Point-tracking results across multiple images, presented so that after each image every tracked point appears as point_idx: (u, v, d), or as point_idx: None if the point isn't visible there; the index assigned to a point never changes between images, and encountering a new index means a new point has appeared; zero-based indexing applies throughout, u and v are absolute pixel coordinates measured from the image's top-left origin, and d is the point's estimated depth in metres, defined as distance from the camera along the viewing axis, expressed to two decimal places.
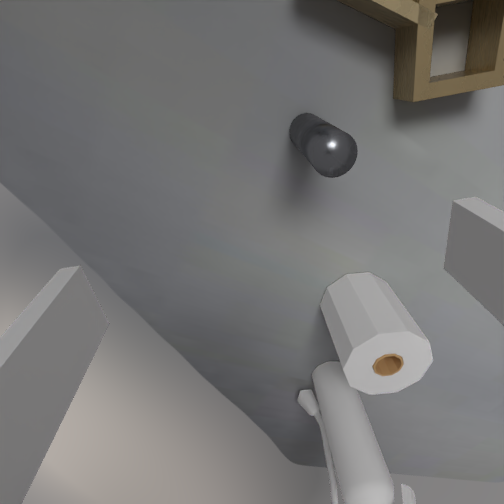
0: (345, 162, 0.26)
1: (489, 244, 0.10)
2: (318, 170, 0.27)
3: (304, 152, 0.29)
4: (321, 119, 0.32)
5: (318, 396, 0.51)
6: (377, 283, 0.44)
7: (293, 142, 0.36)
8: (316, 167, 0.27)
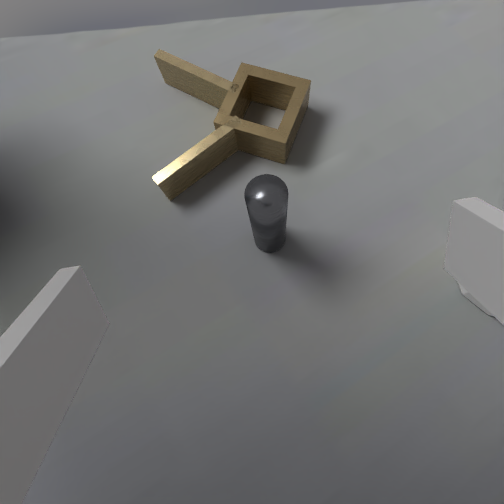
0: (278, 188, 0.27)
1: (489, 244, 0.10)
2: (271, 212, 0.27)
3: (262, 227, 0.30)
4: None
5: None
6: None
7: (271, 250, 0.38)
8: (268, 212, 0.27)
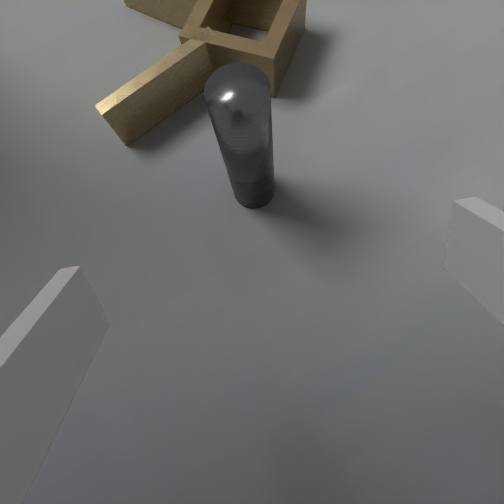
0: (255, 80, 0.18)
1: (489, 244, 0.10)
2: (244, 115, 0.17)
3: (235, 153, 0.21)
4: None
5: None
6: None
7: (255, 204, 0.28)
8: (238, 115, 0.17)
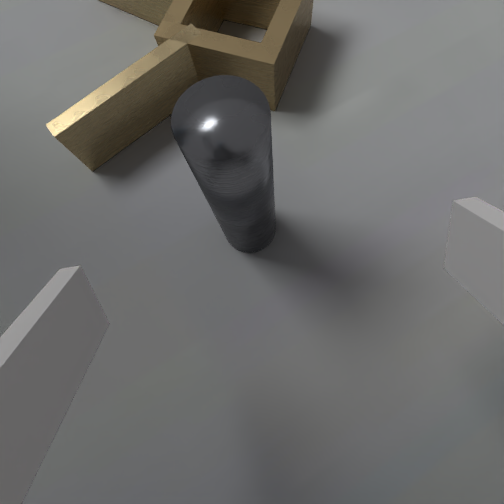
0: (249, 102, 0.12)
1: (489, 244, 0.10)
2: (231, 156, 0.11)
3: (222, 200, 0.15)
4: None
5: None
6: None
7: (252, 248, 0.22)
8: (222, 157, 0.11)
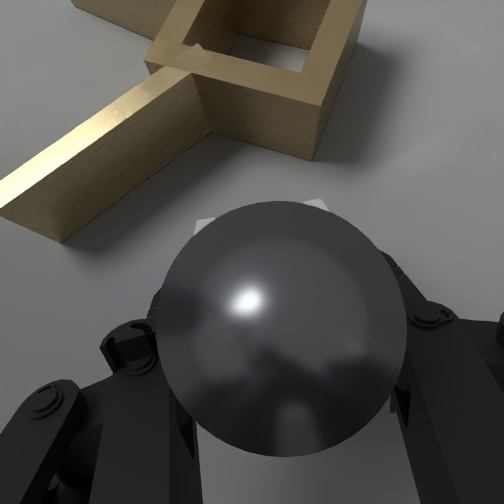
0: (347, 280, 0.05)
1: None
2: (313, 442, 0.04)
3: None
4: None
5: None
6: None
7: None
8: (289, 444, 0.04)
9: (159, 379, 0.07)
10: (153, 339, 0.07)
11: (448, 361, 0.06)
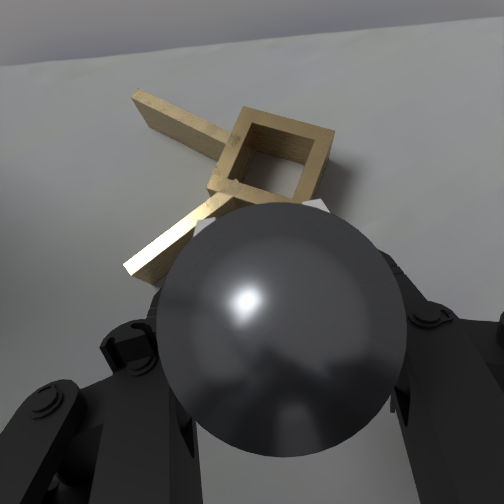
0: (347, 281, 0.05)
1: None
2: (313, 442, 0.04)
3: None
4: None
5: None
6: None
7: None
8: (289, 445, 0.04)
9: (159, 379, 0.07)
10: (153, 339, 0.07)
11: (448, 361, 0.06)
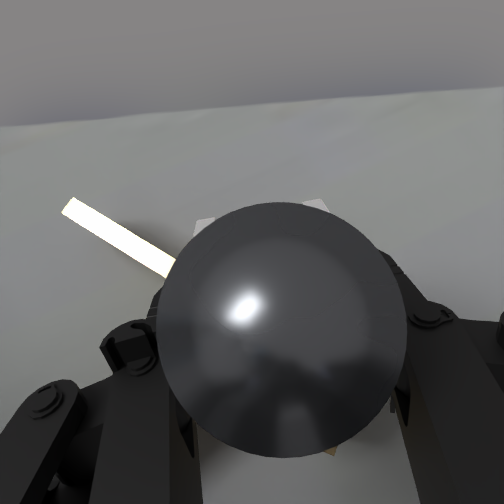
0: (347, 281, 0.05)
1: None
2: (313, 443, 0.04)
3: None
4: None
5: None
6: None
7: None
8: (289, 446, 0.04)
9: (159, 379, 0.07)
10: (153, 339, 0.07)
11: (448, 361, 0.06)
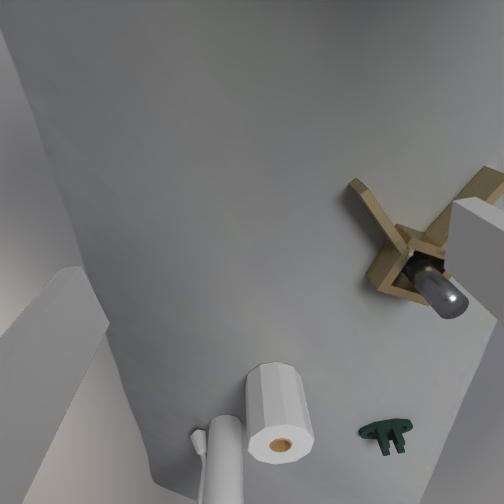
0: (454, 313, 0.40)
1: (489, 244, 0.10)
2: (438, 310, 0.39)
3: (425, 287, 0.42)
4: (433, 266, 0.45)
5: (211, 441, 0.62)
6: (296, 379, 0.57)
7: None
8: (439, 308, 0.39)
9: None
10: None
11: None
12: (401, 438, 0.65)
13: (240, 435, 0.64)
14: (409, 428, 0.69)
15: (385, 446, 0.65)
